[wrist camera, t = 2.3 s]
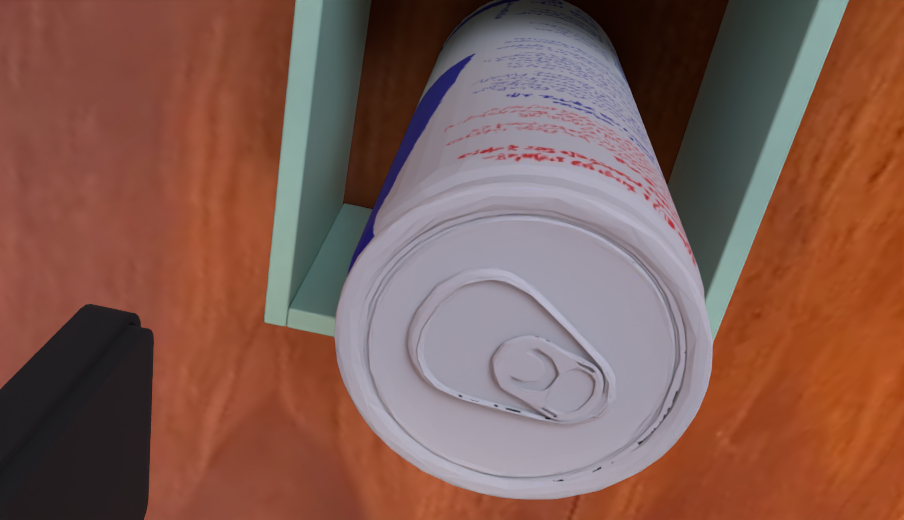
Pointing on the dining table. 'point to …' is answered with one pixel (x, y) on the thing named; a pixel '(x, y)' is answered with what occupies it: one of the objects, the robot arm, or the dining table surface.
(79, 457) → the robot arm
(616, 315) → the beverage can
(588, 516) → the dining table surface
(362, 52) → the open square box
